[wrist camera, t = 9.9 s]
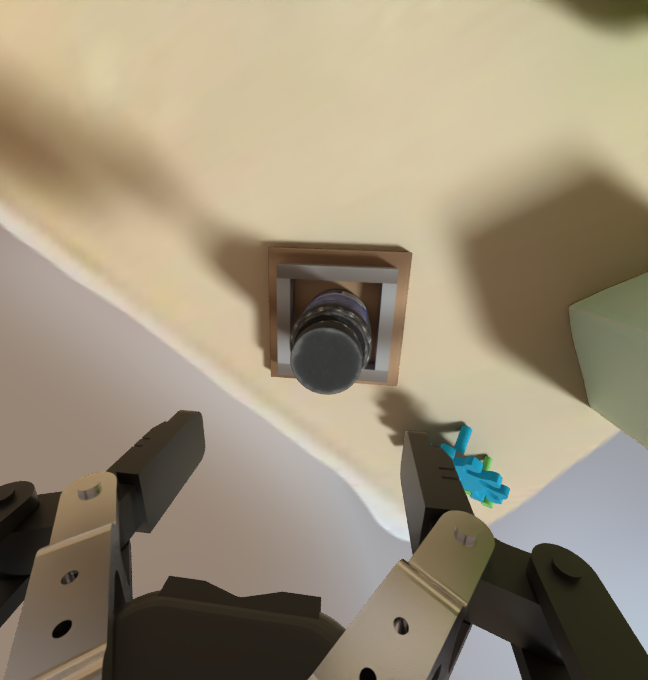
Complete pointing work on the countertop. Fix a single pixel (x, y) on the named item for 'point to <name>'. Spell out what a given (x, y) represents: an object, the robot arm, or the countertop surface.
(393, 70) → the countertop surface
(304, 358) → the pill bottle
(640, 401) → the planter
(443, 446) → the gear
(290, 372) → the framed wooden base
